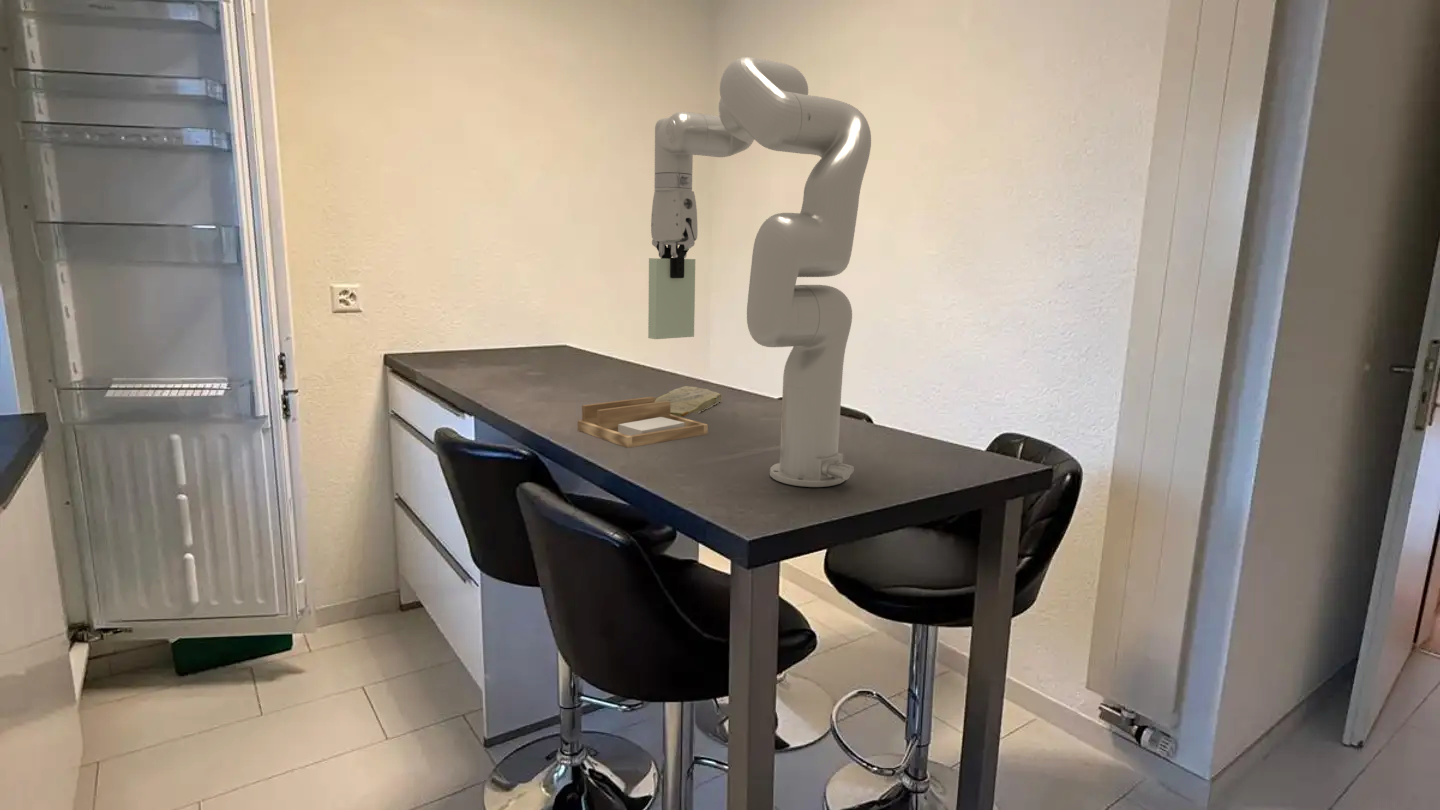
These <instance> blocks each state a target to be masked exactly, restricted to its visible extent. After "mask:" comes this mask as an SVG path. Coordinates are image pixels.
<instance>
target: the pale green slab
mask: <svg viewBox="0 0 1440 810" xmlns="http://www.w3.org/2000/svg"><path fill="white" fill-rule="evenodd" d="M661 258H662V257H659V258H657V257H656V258H655V257H654V258H648V316H647V317H648V319H647V321H648V322H647V323H648V328H647V329H648V332H647V333H648V336H647V337H648V339H652V340H665V339H678V338H694V337H695V312H696V311H695V310H696V309H695V307H696V304H695V301H696V296H695V295H696V259H695V258H684V278H671V277H670V259H661Z"/></svg>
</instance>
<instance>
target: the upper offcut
mask: <svg viewBox="0 0 1440 810" xmlns="http://www.w3.org/2000/svg"><path fill="white" fill-rule="evenodd" d="M681 427H685V423H684V422H680V421H676V420H672V419H668V418H664V417H657V418H652V419H646V420H640V421H635V422H629V423H623V424H618V432H619V433H622V434H625V435H628V436H631V435H637V434H644V433H650V432H656V431H662V430H668V429H675V428H681Z"/></svg>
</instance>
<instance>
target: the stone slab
mask: <svg viewBox="0 0 1440 810" xmlns="http://www.w3.org/2000/svg"><path fill="white" fill-rule="evenodd" d="M721 400H722V394H721V393H719V392H717V391H713V390H710V389H708V388H701V387H700V388H699V387H697V386H688V385H684V386H681V387H678V388H673V390H669V392H668V393H664V394H661V396H657V397H655V402H661V401H671V407H670V414H672V415H675V416H679V417H682V418H685V417H686V416H688V415H690V414H692V413H694V414H696V413H698V412H699V411H702V410H704V409H705V408H708V407H710V406H711V405H713V404H715V403H717V402H719V401H721ZM702 412H703V411H702Z"/></svg>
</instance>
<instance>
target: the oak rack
mask: <svg viewBox="0 0 1440 810" xmlns="http://www.w3.org/2000/svg"><path fill="white" fill-rule="evenodd" d="M655 398H656V397H655V396H645V397H644V396H643V397H637V398H630V399H622V400H613V401H607V402H606V401H605V402H598V403H597V402H596V403H591V404H590V403H589V404H584V405H583V404H582V405H581V420H577V431H578V432H580V433H584V434H587V435H590V436H593V437H596V438H599V439H600V440H601V439H602V440H605V441H607V442H610V443H613V444H615V445H617V446H621V447H624V448H627V449H628V448H629V449H630V448H635V447H640V446H641V447H643V446H646V445H652V444H658V443H664V442H670V441H676V440H681V439H688V438H693V437H698V436H705V435H709V434H708V429H709V428H708V426H709V425H708V424H707V423H703V422H700V421H697V420H694V419H693V420H692V419H690V418H685V417H680V416H675V415H672V414H670V407H671V401H661V402H655ZM657 417H664V418H668V419H672V420H676V421H680V422H684V423H685V427H681V428H675V429H668V430H662V431H656V432H650V433H644V434H637V435H631V436H628V435H625V434H622V433H619V432H618V424H623V423H629V422H635V421H640V420H646V419H652V418H657Z"/></svg>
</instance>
